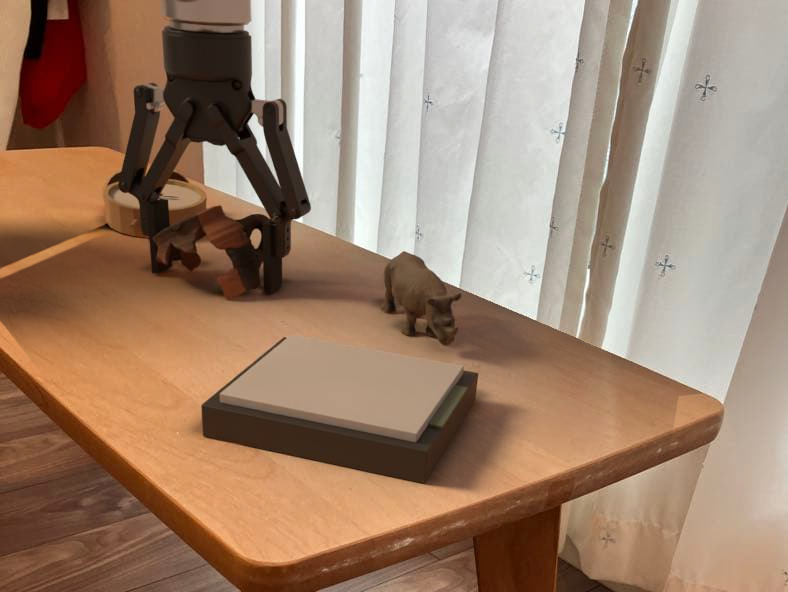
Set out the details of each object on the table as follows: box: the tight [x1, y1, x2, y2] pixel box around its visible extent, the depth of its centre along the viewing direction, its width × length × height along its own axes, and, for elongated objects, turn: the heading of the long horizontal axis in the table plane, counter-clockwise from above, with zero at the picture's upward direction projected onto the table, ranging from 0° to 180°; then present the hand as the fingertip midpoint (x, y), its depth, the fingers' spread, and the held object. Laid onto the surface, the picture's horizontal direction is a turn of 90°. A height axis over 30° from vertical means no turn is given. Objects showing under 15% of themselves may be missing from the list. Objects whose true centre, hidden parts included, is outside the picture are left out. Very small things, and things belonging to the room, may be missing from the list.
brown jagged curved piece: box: [152, 204, 270, 301], centre depth 91 cm, size 12×10×8 cm
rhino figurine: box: [380, 250, 462, 347], centre depth 83 cm, size 4×14×6 cm, turn 21°
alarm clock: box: [101, 170, 208, 239], centre depth 108 cm, size 11×5×15 cm
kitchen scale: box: [200, 333, 479, 484], centre depth 68 cm, size 16×14×3 cm
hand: (216, 279), depth 92 cm, fingers open, 11 cm apart
